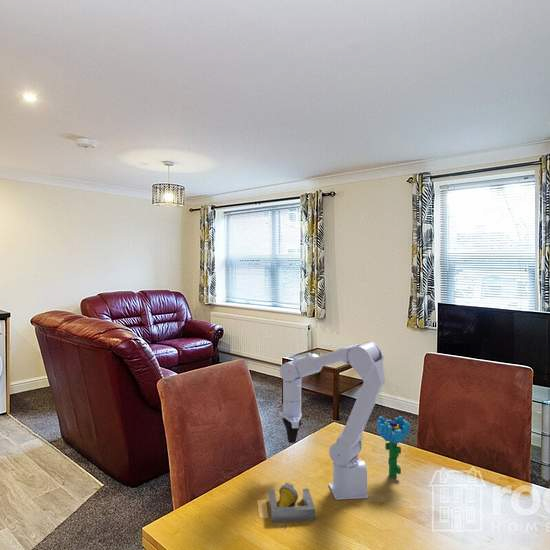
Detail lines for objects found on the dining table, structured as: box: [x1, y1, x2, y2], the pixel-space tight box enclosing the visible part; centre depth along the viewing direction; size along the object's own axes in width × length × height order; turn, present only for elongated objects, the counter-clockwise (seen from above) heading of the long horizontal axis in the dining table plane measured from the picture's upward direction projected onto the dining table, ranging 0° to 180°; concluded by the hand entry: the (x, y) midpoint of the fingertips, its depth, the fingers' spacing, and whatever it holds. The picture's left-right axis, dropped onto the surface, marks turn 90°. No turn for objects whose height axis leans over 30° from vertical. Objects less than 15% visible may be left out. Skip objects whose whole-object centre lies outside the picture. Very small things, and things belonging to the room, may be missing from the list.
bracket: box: [268, 488, 316, 524], centre depth 107 cm, size 11×10×3 cm
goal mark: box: [257, 499, 269, 519], centre depth 108 cm, size 2×8×1 cm, turn 6°
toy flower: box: [376, 415, 411, 479], centre depth 124 cm, size 9×9×18 cm
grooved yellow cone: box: [277, 481, 299, 507], centre depth 109 cm, size 5×5×10 cm
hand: (291, 442), depth 126 cm, fingers closed
